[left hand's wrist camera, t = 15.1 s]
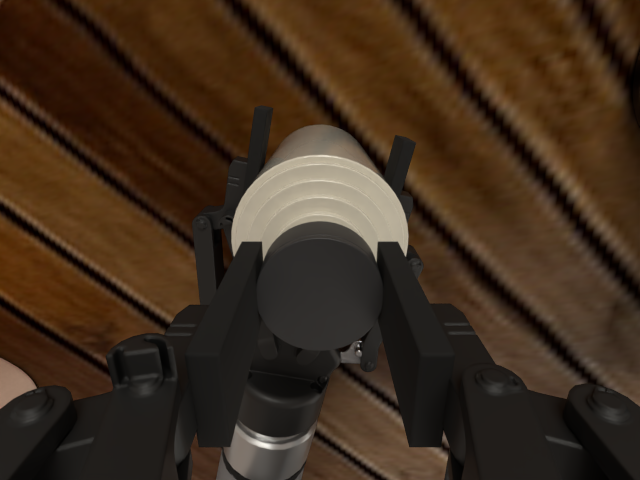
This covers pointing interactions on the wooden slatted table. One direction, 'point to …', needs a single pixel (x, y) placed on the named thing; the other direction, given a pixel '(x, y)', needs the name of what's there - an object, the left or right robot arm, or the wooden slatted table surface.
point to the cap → (319, 286)
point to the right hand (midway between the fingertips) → (335, 123)
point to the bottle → (319, 192)
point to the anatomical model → (13, 382)
